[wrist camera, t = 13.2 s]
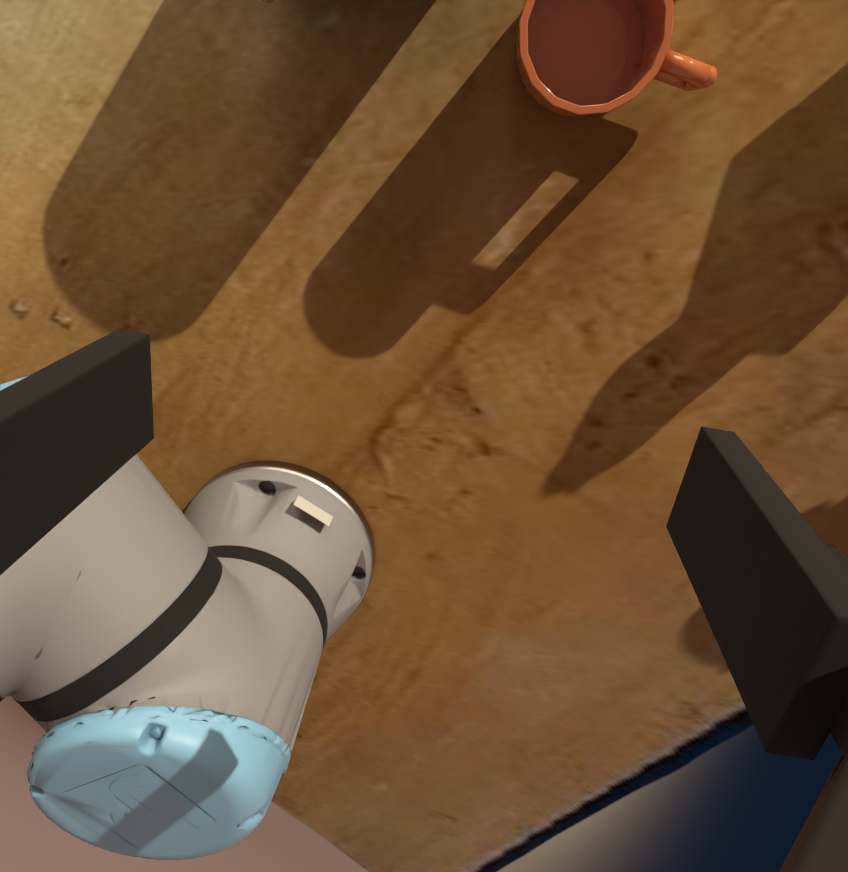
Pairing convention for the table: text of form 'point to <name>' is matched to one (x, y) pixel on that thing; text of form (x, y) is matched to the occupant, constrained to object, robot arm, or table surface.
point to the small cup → (600, 53)
